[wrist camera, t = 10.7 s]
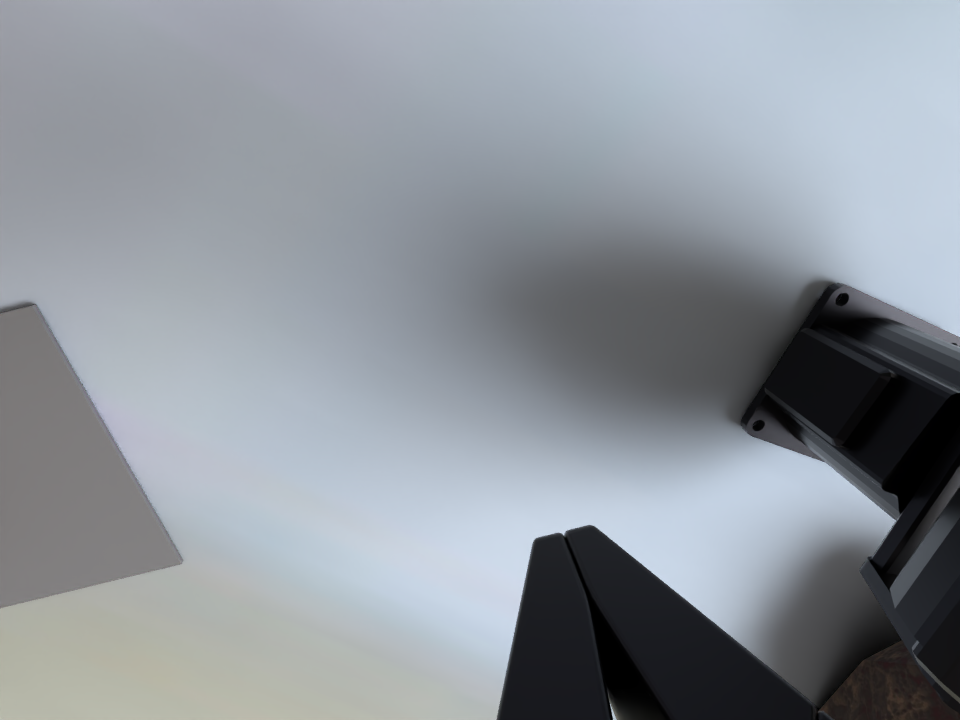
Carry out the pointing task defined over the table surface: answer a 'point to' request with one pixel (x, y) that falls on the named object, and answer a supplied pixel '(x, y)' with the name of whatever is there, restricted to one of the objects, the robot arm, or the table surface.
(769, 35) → the table surface
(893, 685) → the stone
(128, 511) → the gray angle bracket
